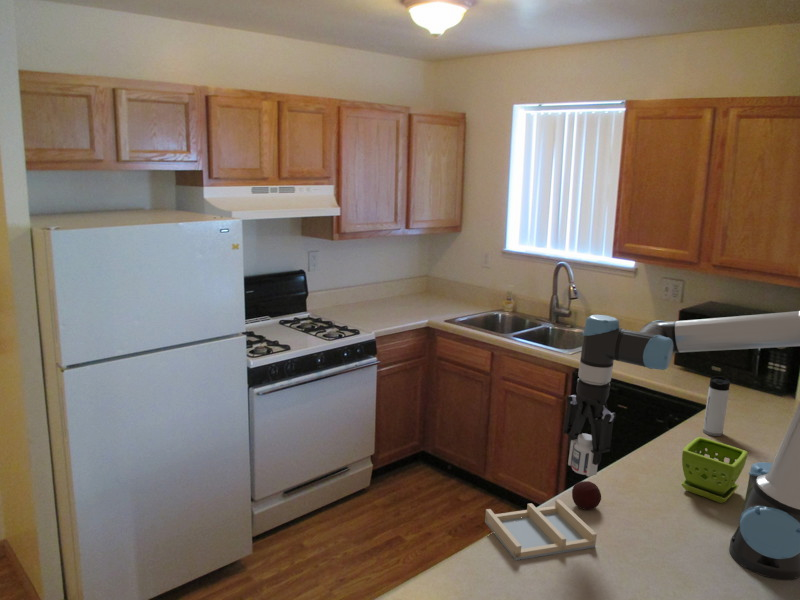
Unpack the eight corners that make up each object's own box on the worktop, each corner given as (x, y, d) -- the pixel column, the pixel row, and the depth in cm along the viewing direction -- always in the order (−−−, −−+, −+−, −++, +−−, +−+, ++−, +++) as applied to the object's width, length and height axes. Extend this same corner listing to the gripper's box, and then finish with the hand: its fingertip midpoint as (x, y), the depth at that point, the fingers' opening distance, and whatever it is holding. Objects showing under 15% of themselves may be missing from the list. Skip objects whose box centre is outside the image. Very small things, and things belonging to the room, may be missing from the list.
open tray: (595, 547, 150) (596, 533, 149) (515, 560, 143) (516, 546, 143) (558, 511, 165) (559, 499, 164) (485, 522, 159) (485, 509, 158)
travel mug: (723, 431, 222) (731, 377, 218) (721, 438, 216) (729, 382, 212) (704, 427, 225) (711, 374, 221) (701, 433, 220) (709, 379, 216)
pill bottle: (595, 468, 156) (599, 435, 154) (591, 477, 151) (596, 443, 149) (573, 463, 158) (578, 430, 156) (569, 471, 153) (573, 438, 151)
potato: (565, 502, 169) (567, 478, 168) (588, 498, 173) (590, 474, 171) (583, 516, 163) (585, 491, 161) (606, 511, 166) (609, 486, 164)
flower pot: (675, 490, 178) (680, 449, 176) (692, 475, 188) (697, 435, 186) (728, 510, 169) (735, 466, 166) (743, 492, 179) (749, 450, 177)
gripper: (636, 390, 144) (622, 483, 149) (576, 366, 159) (565, 451, 164) (614, 395, 140) (600, 490, 145) (554, 369, 155) (544, 456, 160)
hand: (582, 469), depth 154 cm, fingers closed on pill bottle, 5 cm apart
